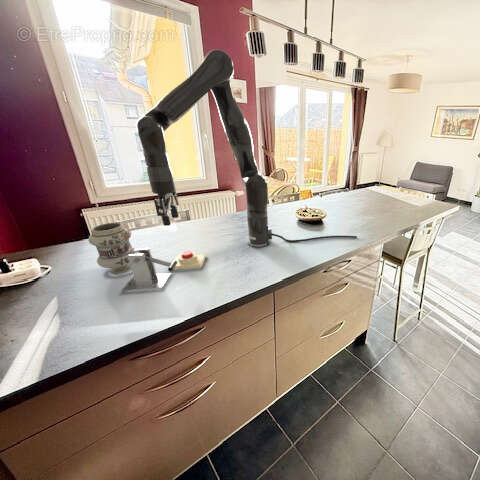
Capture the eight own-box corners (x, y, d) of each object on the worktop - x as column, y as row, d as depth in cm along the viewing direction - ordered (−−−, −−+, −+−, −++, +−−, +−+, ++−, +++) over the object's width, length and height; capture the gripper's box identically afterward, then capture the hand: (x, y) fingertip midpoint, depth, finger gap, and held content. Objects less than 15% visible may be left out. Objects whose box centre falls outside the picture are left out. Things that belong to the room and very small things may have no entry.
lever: (176, 265, 87) (178, 259, 86) (171, 273, 82) (173, 267, 81) (138, 254, 82) (139, 248, 82) (130, 262, 78) (132, 255, 77)
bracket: (172, 275, 90) (163, 244, 85) (162, 290, 82) (153, 257, 77) (135, 278, 88) (124, 246, 82) (122, 293, 80) (109, 259, 74)
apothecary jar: (119, 261, 98) (104, 219, 90) (149, 262, 97) (136, 221, 90) (93, 278, 87) (73, 232, 79) (126, 280, 86) (110, 233, 79)
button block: (206, 258, 102) (204, 250, 101) (201, 269, 94) (199, 260, 93) (178, 260, 100) (176, 251, 99) (170, 271, 92) (168, 262, 91)
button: (193, 254, 98) (192, 250, 97) (191, 258, 95) (190, 254, 94) (184, 254, 97) (183, 251, 96) (181, 259, 94) (180, 255, 93)
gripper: (165, 182, 81) (175, 227, 88) (179, 175, 94) (187, 215, 101) (140, 183, 80) (152, 228, 87) (158, 175, 92) (168, 215, 99)
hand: (171, 221), depth 94 cm, fingers open, 8 cm apart
